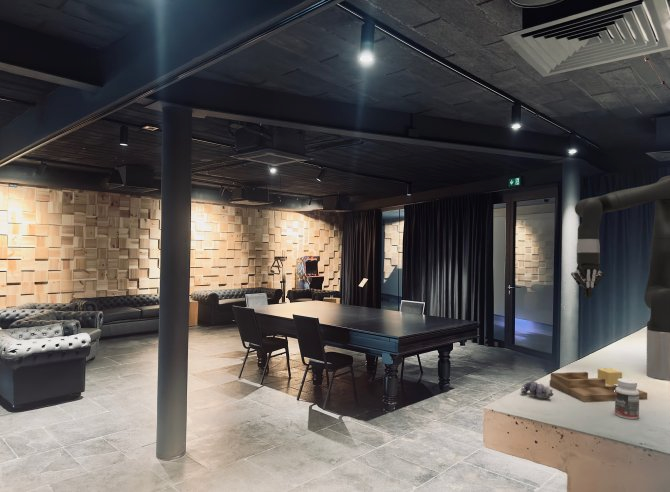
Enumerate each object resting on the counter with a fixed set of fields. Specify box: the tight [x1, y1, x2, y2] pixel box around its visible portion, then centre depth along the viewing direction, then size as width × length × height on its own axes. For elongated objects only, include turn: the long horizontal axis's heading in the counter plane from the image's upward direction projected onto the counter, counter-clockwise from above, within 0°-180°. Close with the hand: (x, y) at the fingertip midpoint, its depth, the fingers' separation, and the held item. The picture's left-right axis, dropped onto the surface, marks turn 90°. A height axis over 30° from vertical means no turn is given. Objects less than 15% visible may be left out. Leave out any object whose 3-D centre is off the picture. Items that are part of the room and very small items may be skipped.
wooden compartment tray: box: [549, 377, 648, 403], centre depth 150 cm, size 22×17×2 cm
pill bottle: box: [614, 377, 640, 420], centre depth 128 cm, size 6×6×10 cm
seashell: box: [520, 380, 554, 400], centre depth 144 cm, size 5×5×10 cm
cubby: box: [550, 371, 605, 388], centre depth 152 cm, size 14×9×2 cm, turn 99°
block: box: [597, 368, 623, 385], centre depth 154 cm, size 5×5×4 cm
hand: (587, 297), depth 171 cm, fingers closed
